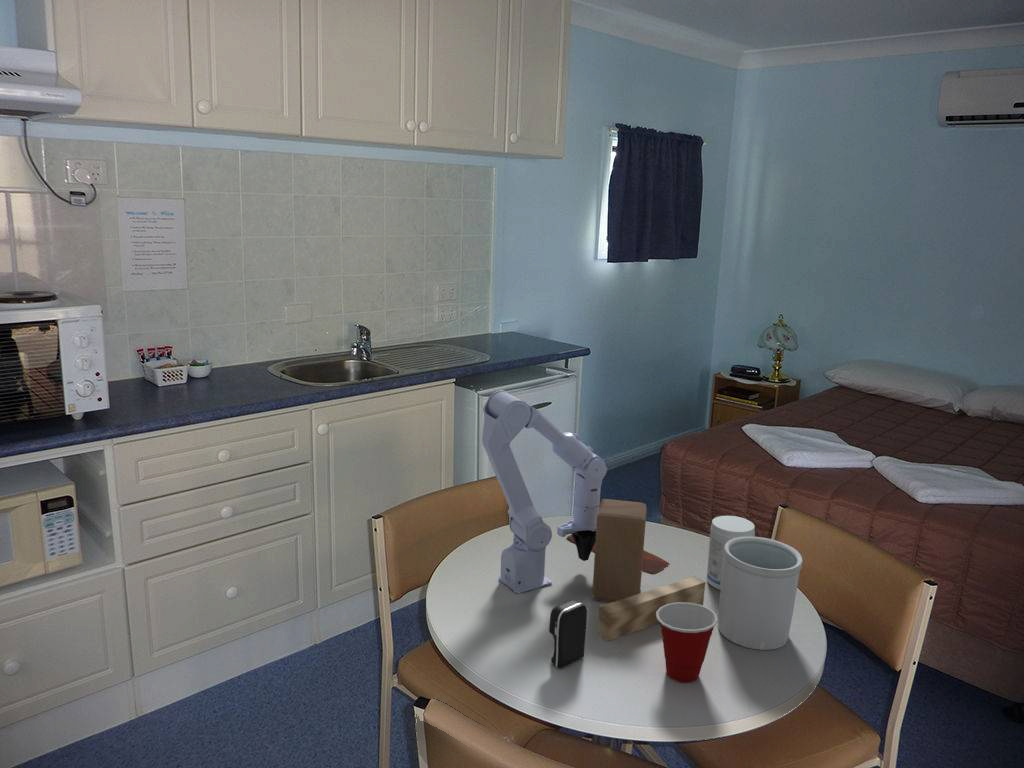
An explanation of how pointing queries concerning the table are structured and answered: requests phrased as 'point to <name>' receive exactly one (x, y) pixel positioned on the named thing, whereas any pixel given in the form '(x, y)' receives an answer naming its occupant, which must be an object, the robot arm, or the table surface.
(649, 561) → the wooden tablet
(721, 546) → the supplement tub
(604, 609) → the board
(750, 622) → the utensil holder
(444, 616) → the table surface
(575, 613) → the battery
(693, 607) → the plastic cup
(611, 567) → the block
